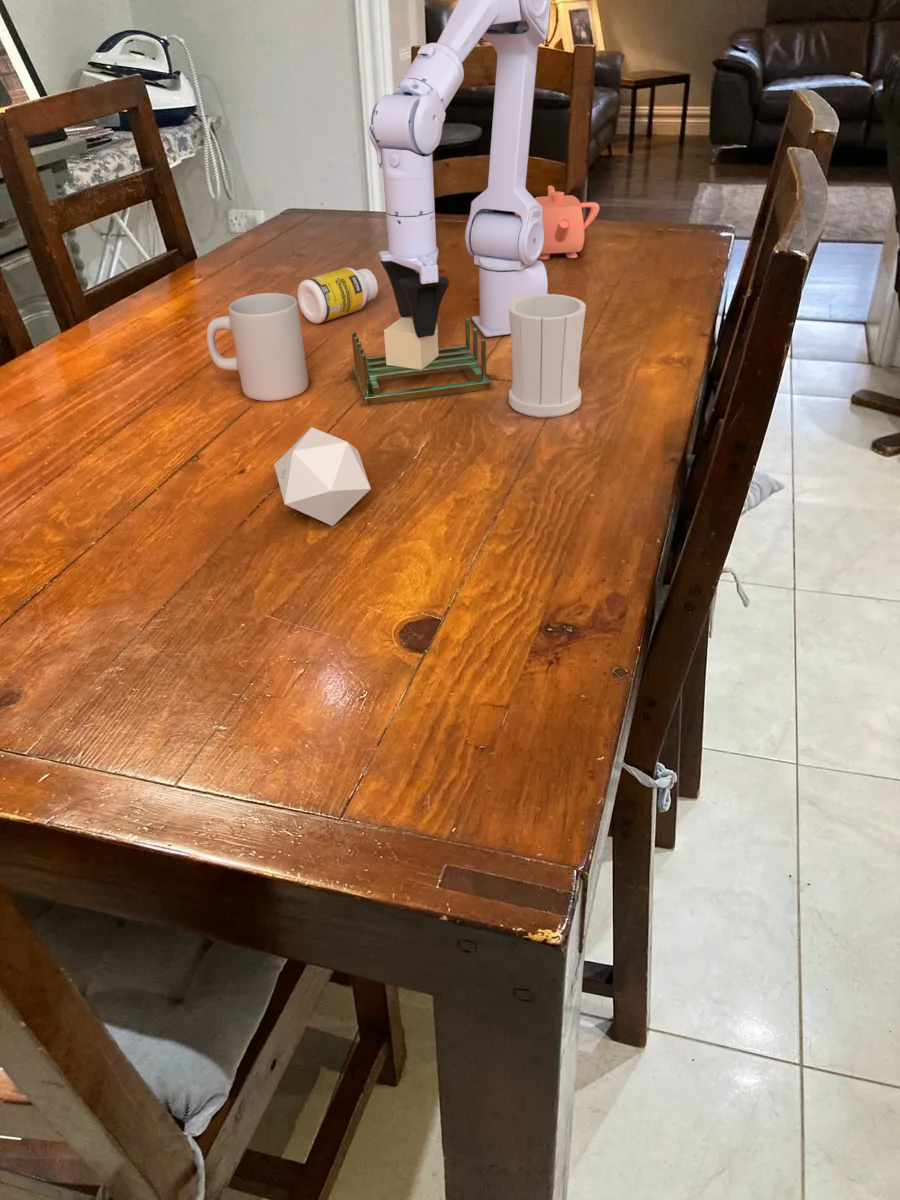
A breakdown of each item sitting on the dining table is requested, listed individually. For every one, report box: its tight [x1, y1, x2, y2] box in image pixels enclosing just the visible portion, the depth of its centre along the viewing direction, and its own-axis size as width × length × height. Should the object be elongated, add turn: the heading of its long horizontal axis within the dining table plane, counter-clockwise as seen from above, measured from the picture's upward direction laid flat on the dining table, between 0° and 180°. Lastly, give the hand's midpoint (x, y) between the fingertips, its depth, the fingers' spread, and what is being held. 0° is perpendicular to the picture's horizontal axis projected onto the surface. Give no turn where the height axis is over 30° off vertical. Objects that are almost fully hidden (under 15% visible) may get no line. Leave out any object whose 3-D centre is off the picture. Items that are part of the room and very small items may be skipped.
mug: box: [206, 292, 310, 402], centre depth 118 cm, size 12×8×11 cm
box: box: [383, 317, 439, 370], centre depth 118 cm, size 5×5×4 cm
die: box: [273, 426, 372, 527], centre depth 92 cm, size 8×9×10 cm
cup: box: [508, 293, 587, 419], centre depth 111 cm, size 10×9×12 cm
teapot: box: [514, 185, 600, 260], centre depth 163 cm, size 14×12×10 cm
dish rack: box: [351, 317, 492, 406], centre depth 119 cm, size 16×11×6 cm
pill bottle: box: [297, 267, 379, 325], centre depth 141 cm, size 6×6×12 cm
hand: (416, 325), depth 117 cm, fingers open, 7 cm apart
